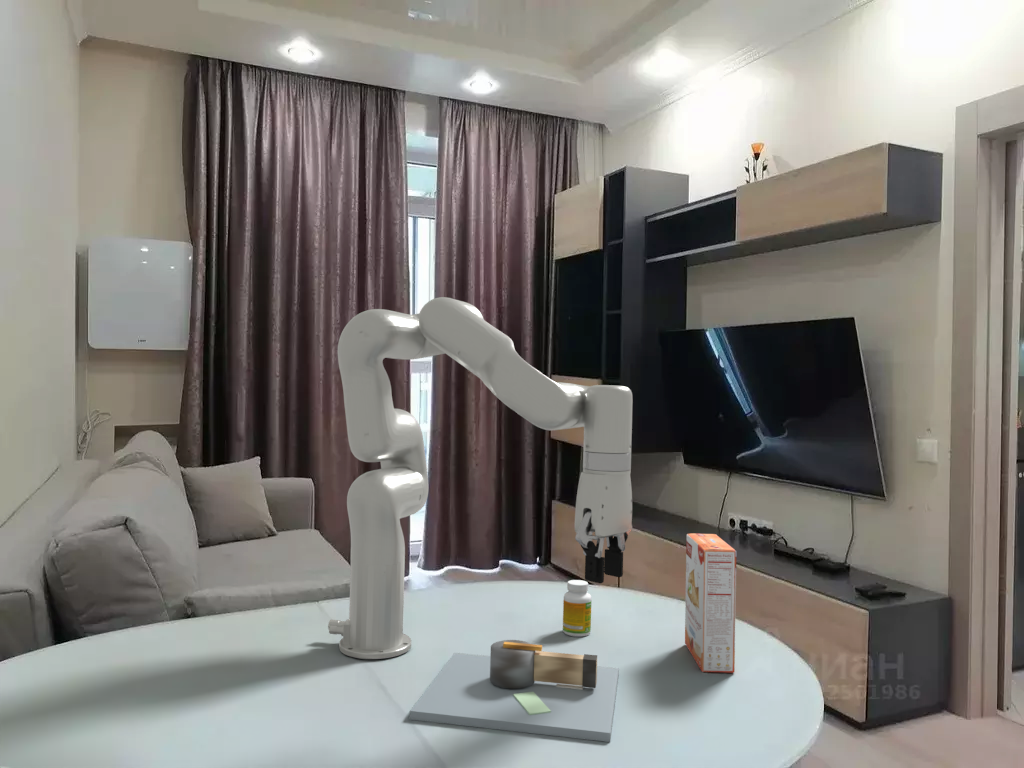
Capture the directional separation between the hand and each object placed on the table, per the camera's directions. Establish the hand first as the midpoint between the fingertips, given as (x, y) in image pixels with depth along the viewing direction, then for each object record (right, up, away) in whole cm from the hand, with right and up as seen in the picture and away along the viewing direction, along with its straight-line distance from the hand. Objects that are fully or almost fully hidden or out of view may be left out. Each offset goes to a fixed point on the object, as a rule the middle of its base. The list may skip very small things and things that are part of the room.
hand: (603, 577), depth 120 cm
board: (-13, -17, -4) cm, 22 cm away
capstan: (-10, -16, -3) cm, 19 cm away
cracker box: (+20, -18, +14) cm, 30 cm away
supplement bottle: (-2, -18, +26) cm, 32 cm away
